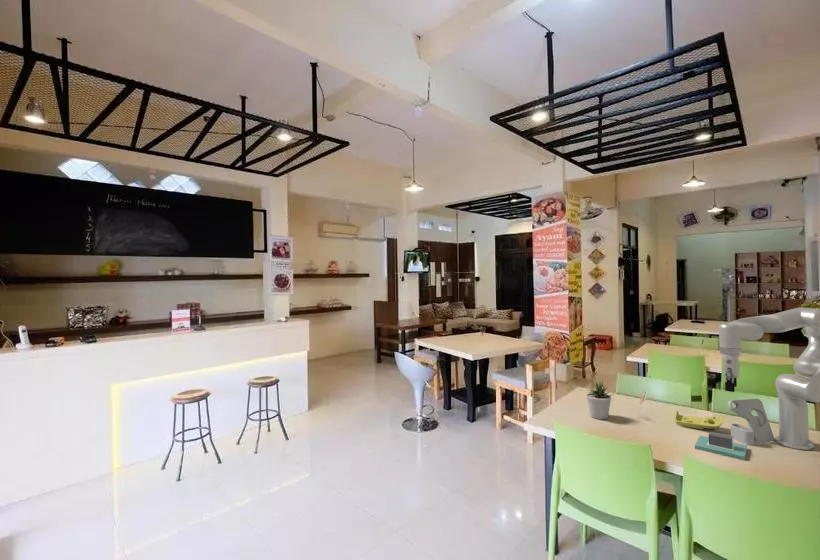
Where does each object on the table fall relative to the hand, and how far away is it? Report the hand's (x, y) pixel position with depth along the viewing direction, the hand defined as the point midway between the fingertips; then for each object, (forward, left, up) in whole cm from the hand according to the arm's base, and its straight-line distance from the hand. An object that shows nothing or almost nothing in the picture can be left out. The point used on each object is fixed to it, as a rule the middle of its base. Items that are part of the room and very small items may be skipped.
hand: (731, 388), depth 175 cm
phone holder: (-15, +7, -27) cm, 31 cm away
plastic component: (-17, -15, -27) cm, 35 cm away
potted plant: (-1, -57, -26) cm, 63 cm away
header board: (+6, -4, -26) cm, 27 cm away
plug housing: (+6, -4, -25) cm, 26 cm away
